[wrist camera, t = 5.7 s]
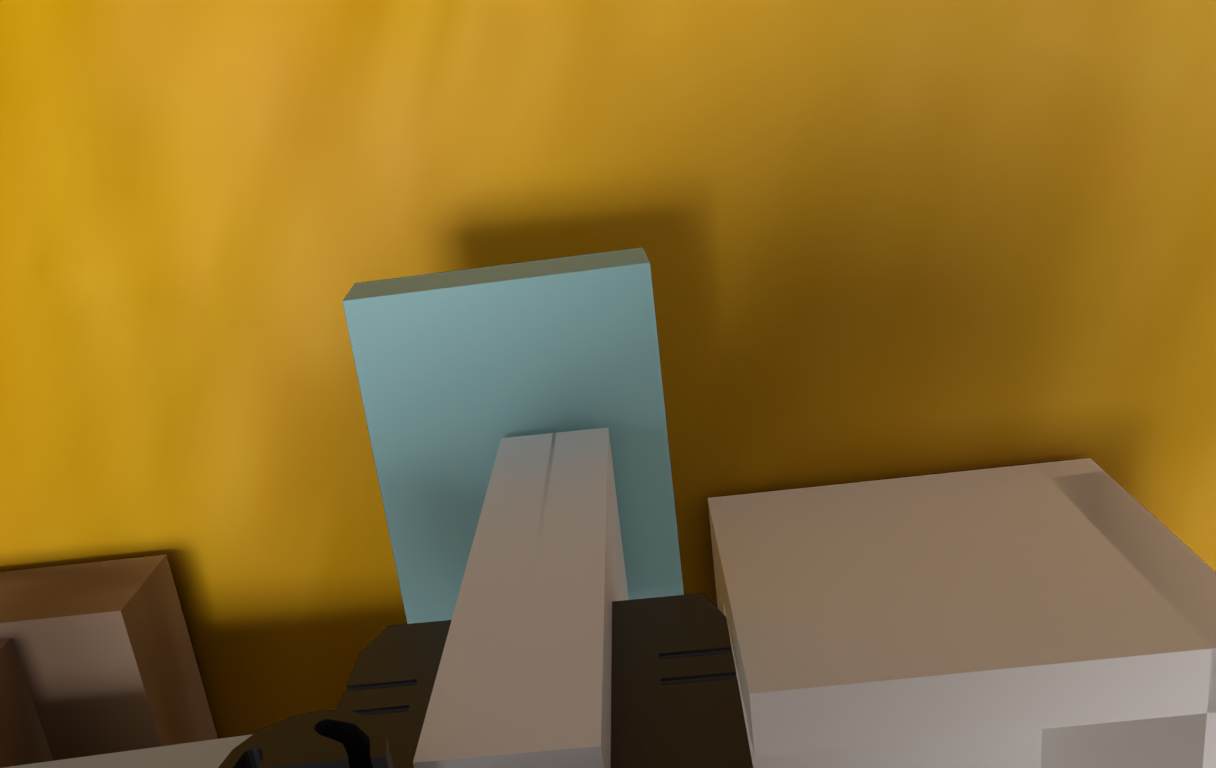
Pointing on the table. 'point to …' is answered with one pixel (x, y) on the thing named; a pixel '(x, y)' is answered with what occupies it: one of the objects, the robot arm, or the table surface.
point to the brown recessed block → (96, 662)
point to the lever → (495, 419)
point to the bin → (967, 623)
